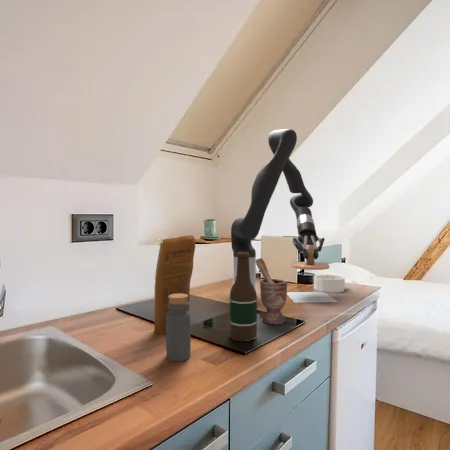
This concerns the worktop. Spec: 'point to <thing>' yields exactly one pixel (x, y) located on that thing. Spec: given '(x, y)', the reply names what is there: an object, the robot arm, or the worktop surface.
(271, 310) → the mortar and pestle
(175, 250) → the pancake mix bag
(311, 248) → the lid
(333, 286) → the bowl
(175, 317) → the bottle
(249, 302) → the beer bottle
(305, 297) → the mat
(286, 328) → the worktop surface
